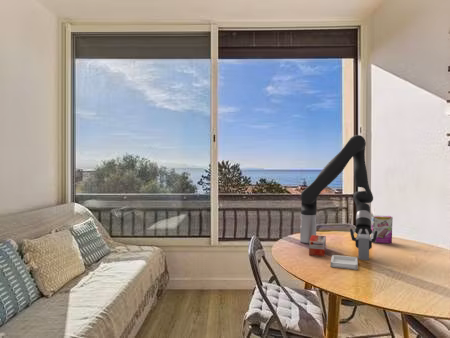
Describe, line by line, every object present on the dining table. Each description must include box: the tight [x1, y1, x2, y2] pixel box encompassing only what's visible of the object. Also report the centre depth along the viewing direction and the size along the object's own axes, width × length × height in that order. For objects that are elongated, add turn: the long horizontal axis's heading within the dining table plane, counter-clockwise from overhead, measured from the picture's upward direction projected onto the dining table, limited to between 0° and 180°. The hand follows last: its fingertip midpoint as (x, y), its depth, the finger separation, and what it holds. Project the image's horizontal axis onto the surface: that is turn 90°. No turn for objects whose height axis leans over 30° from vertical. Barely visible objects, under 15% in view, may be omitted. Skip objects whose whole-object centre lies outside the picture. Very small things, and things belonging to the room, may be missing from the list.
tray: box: [330, 254, 359, 270], centre depth 161 cm, size 12×13×2 cm
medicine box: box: [308, 234, 327, 257], centre depth 182 cm, size 15×8×8 cm, turn 161°
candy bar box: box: [370, 214, 393, 244], centre depth 202 cm, size 11×5×16 cm, turn 84°
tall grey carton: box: [357, 234, 370, 261], centre depth 171 cm, size 5×6×12 cm
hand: (363, 247), depth 170 cm, fingers closed on tall grey carton, 5 cm apart
